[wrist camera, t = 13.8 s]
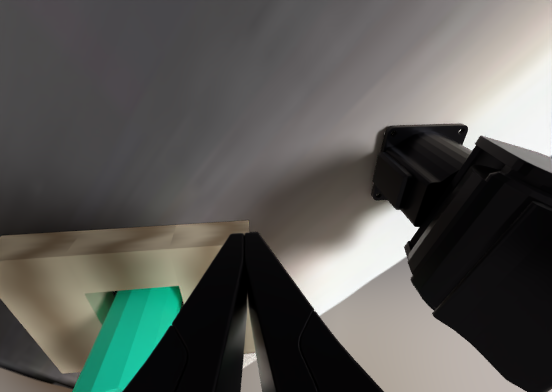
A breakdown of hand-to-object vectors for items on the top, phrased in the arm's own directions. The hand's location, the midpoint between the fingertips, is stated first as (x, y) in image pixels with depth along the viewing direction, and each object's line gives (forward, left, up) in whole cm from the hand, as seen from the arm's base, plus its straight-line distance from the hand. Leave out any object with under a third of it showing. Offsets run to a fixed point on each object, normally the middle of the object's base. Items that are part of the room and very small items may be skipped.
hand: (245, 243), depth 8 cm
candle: (+10, +17, -13) cm, 24 cm away
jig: (+10, +17, -13) cm, 24 cm away
